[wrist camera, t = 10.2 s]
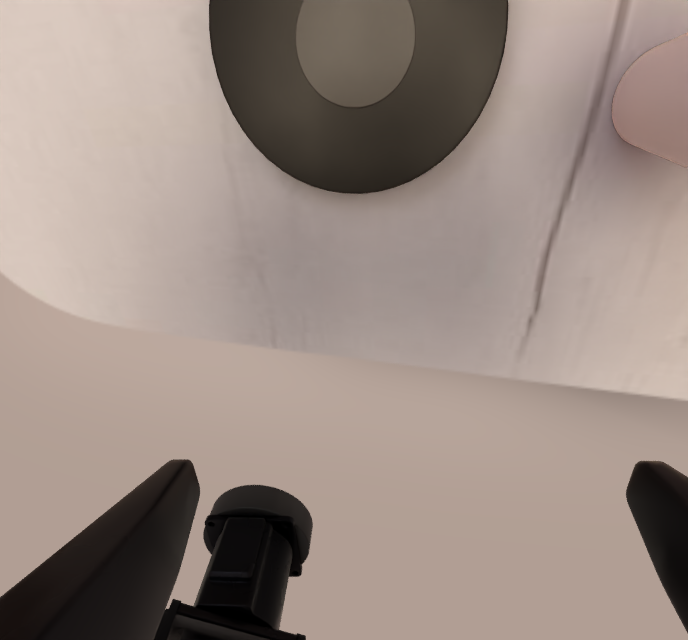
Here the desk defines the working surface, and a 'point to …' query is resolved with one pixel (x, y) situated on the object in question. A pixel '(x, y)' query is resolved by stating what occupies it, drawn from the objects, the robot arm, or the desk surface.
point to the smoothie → (656, 101)
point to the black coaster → (357, 82)
